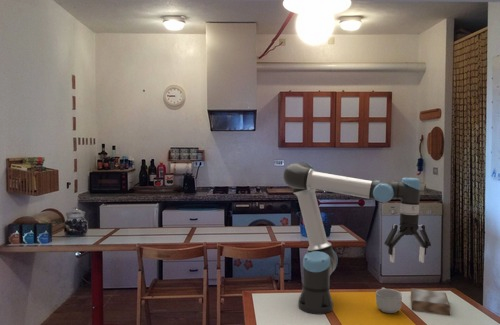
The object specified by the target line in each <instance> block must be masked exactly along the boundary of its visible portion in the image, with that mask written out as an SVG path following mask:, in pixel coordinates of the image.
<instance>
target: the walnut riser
mask: <svg viewBox="0 0 500 325" xmlns="http://www.w3.org/2000/svg"><path fill="white" fill-rule="evenodd" d="M410 305H411V310H412V311H416V312H417V311H418V312H424V313H429V314H430V313H431V314H432V313H433V314H440V315H446V316H450V315H451V305H450V301H449V298H448V296H447V293H446V292H443V291H436V290H435V291H434V290H428V289H421V288H410Z"/></svg>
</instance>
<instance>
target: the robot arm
mask: <svg viewBox="0 0 500 325" xmlns="http://www.w3.org/2000/svg"><path fill="white" fill-rule="evenodd" d="M282 175H283V180H284V182H285V184H286V185H287V186H288V187H289V188H291V189H292V192H293V194H294V195H295V196H296V197H297V200H298V201H297V202H298V204H299V208H300V213H301V216H302V219H303V220H302V221H303V225H304V228H305V232H306V236H307V241H308V244H309V246H308V247H307V249H306V250H307V253H305V254H304V255H303V259H302V290H301V293H300V296H299V297H298V298H299V299H298V301H297V302H298V303H297V304H298V305H297V306H298V309H300V310H301V311H303V312H304V313H305V312H306V313H308V314H309V313H310V314H315V315H316V314H317V315H320V314H321V315H322V314H327V313H331V312H332V311H333V310H334V303H333V299H332V296H331V291H330V278H331V277H330V276H331V275H332V273H333V272H334V271H335V270H336V268H337V266H338V260H339V259H338V256H337V253H336V252H335V250H334V249H333V248H334V247H333V245H332V243H331V242H329V241H328V238H327V235H326V230H325V226H324V222H323V218H322V215H321V211H320V207H319V203H318V199H317V196H316V190H320V191H325V192H330V193H337V194H342V195H347V196H353V197H358V198H364V199H369V200H374V201H377V202H379V203H387V202H389V201H391V200H392V199H395V200H400V207H399V208H400V211H399V212H400V213H399V224H396V223H392V227H391V230H390V232H389V233H388V235H387V237H386V239H385V241H384V245H385V246H386V247H388V254H389V262H390V263H392V264H394V263H395V256H396V254H395V253H396V247H395V245H396V244H397V243H398V242H399V241H400V240H401V239H402V238H403V237H404V236H414V238H415V239H416V240H417V241H418V242H419V244H420V246H419V254H418V255H419V256H418V262H420V263H422V264H425V255H426V254H427V249H428V248H429V247H431V246H432V243H431V241H430V238H429V237H428V234H427V231H426V226H425V225H424V224H421V223H420V224H419V219H420V218H419V216H420V215H419V213H420V200H421V198H420V197H421V180H420V179H419V178H417V177H402V178H401V181H392V180H391V181H390V180H381V179H380V180H367V179H362V178H356V177H349V176H345V175H340V174H339V175H337V174H332V173H327V172H321V171H316V170H315V168H314V166H312V165H311V164H310V163H307V162H304V161H301V162H294V163H291V164H288V165H287V166H286V168H284V171H283V174H282ZM418 230H419V232H420V234H421V236H420V234H419V232H418Z"/></svg>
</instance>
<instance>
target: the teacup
mask: <svg viewBox="0 0 500 325" xmlns="http://www.w3.org/2000/svg"><path fill="white" fill-rule="evenodd" d="M402 298H403V293H402V292H400V291H399V290H397V289H392V288H385V287H381V288H380V289H378V290H376V291H375V302H376V306H377V308H378V309H379V310H380V311H381V312H383V313H385V314H386V313H387V314H395V313H397V312H398V311H400V310H401V308H402V302H403V301H402Z"/></svg>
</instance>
